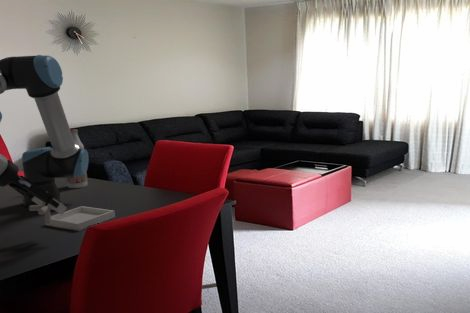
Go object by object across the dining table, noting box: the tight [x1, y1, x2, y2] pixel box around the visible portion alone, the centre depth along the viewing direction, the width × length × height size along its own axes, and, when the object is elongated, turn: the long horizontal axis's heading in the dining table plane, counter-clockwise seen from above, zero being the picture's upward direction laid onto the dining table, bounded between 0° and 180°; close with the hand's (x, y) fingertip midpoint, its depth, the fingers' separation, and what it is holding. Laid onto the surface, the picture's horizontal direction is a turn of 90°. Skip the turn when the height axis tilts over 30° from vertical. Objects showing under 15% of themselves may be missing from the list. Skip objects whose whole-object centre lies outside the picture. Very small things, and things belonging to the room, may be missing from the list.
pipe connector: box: [28, 202, 55, 224], centre depth 142 cm, size 10×10×10 cm
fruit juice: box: [66, 129, 88, 189], centre depth 219 cm, size 9×9×28 cm
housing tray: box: [44, 205, 116, 232], centre depth 162 cm, size 17×17×2 cm
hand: (56, 208), depth 145 cm, fingers closed on pipe connector, 8 cm apart
